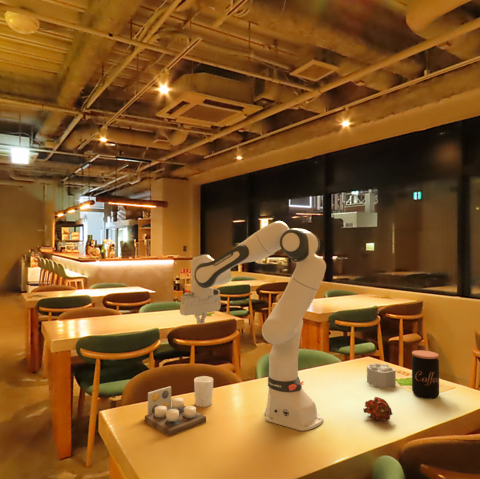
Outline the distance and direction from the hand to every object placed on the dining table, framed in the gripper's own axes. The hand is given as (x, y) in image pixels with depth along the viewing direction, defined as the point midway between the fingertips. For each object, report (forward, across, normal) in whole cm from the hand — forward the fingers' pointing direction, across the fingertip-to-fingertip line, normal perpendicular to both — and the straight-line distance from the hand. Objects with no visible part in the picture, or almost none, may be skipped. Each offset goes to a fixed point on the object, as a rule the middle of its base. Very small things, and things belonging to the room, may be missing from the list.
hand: (200, 323), depth 172 cm
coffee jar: (+31, +70, -68) cm, 103 cm away
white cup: (+31, -5, -9) cm, 33 cm away
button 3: (+27, -20, -11) cm, 35 cm away
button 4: (+28, -27, -11) cm, 41 cm away
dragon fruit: (+31, +32, -65) cm, 79 cm away
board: (+31, -23, -15) cm, 41 cm away
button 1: (+28, -20, -18) cm, 39 cm away
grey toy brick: (+31, +70, -47) cm, 90 cm away
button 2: (+27, -27, -18) cm, 43 cm away
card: (+31, -23, -4) cm, 39 cm away
